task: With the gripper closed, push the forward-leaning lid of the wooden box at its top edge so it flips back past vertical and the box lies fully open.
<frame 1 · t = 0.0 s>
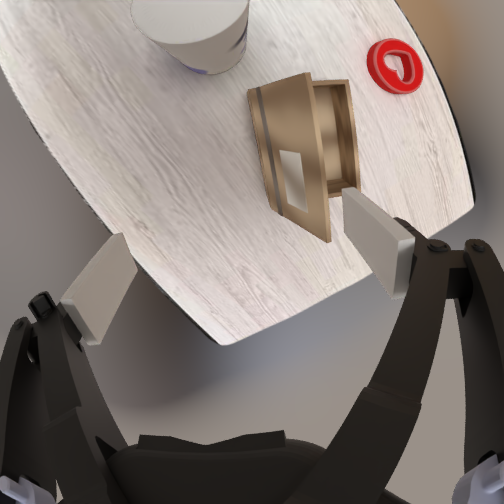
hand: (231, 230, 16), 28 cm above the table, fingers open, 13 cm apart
decorative ornament: (391, 67, 33), on the table
lid: (286, 154, 27), point 14 cm above the table, hinge at 70.0°
container: (212, 45, 32), on the table
wooden box: (299, 137, 39), on the table
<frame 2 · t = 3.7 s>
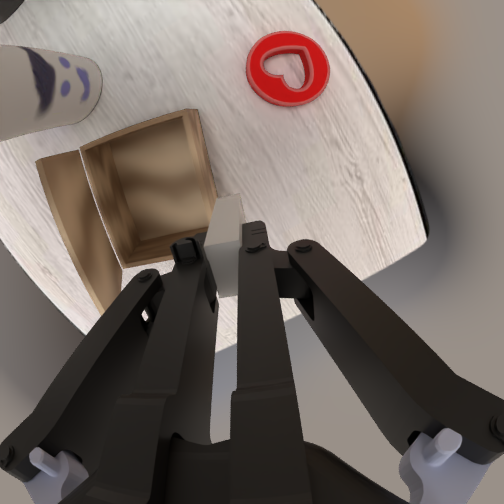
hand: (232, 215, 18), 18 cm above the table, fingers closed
decorative ornament: (285, 70, 28), on the table
lid: (87, 231, 22), point 14 cm above the table, hinge at 70.0°
container: (74, 90, 27), on the table
wooden box: (163, 181, 34), on the table
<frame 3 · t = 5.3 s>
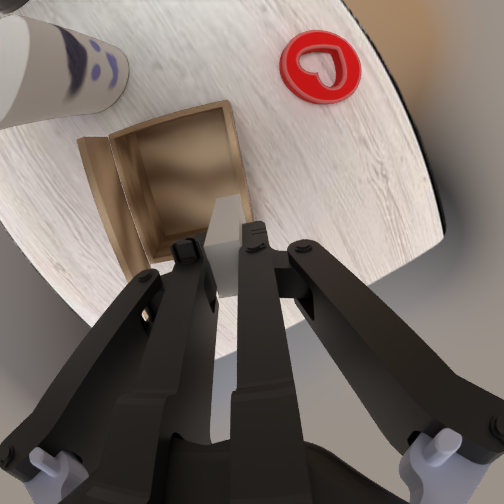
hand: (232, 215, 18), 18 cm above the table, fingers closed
decorative ornament: (317, 68, 28), on the table
lid: (121, 222, 22), point 14 cm above the table, hinge at 70.0°
container: (97, 78, 27), on the table
wooden box: (192, 174, 34), on the table
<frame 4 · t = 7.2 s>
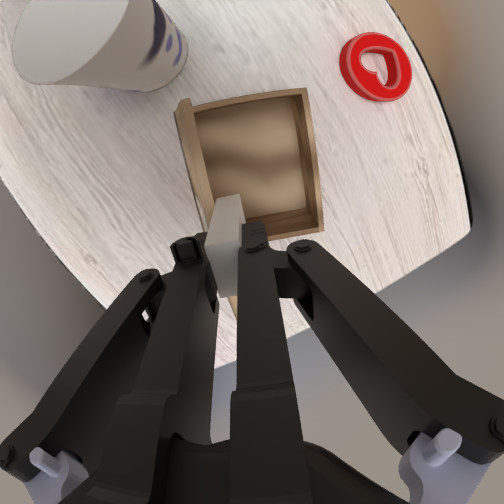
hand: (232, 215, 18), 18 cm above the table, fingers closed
decorative ornament: (371, 68, 28), on the table
lid: (201, 202, 22), point 14 cm above the table, hinge at 74.8°, touching gripper
container: (149, 56, 26), on the table
wooden box: (252, 160, 34), on the table
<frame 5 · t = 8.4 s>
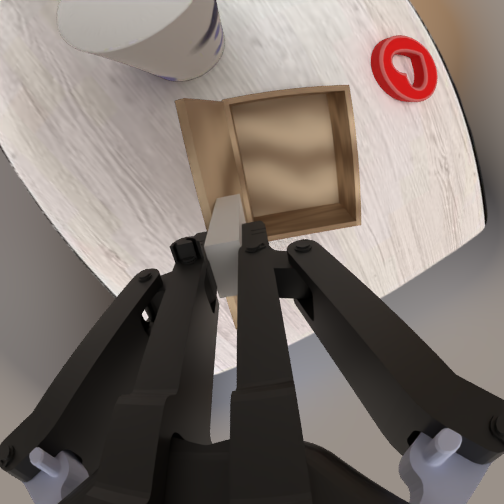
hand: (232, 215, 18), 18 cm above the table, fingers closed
decorative ornament: (399, 69, 28), on the table
lid: (226, 198, 21), point 14 cm above the table, hinge at 96.0°, touching gripper
container: (184, 45, 26), on the table
wooden box: (288, 154, 33), on the table
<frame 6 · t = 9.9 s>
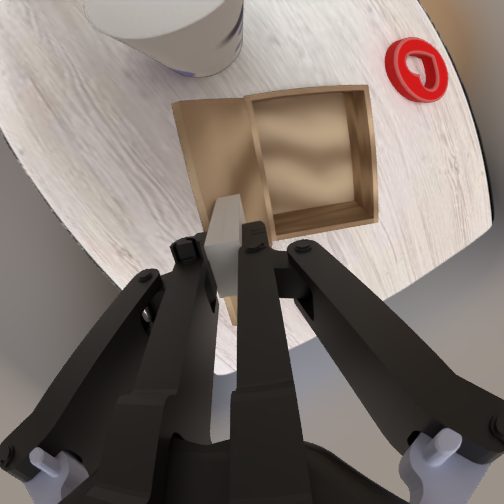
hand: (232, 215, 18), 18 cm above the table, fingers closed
decorative ornament: (411, 70, 27), on the table
lid: (237, 196, 21), point 14 cm above the table, hinge at 107.4°, touching gripper
container: (201, 42, 26), on the table
wooden box: (306, 152, 33), on the table
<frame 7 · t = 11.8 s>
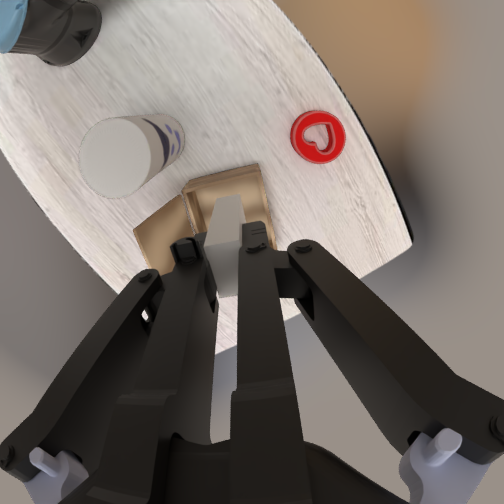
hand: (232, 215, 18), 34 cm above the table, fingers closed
decorative ornament: (315, 135, 47), on the table
lid: (176, 256, 41), point 14 cm above the table, hinge at 107.6°
container: (158, 140, 46), on the table
wooden box: (233, 211, 53), on the table
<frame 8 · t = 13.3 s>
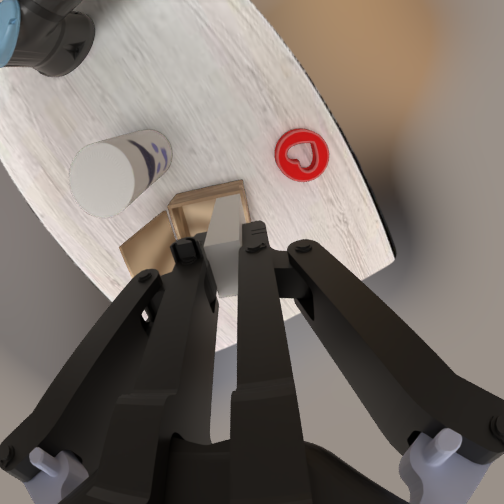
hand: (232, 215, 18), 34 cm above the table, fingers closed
decorative ornament: (300, 153, 49), on the table
lid: (160, 270, 43), point 14 cm above the table, hinge at 107.6°
container: (147, 154, 48), on the table
wooden box: (218, 224, 55), on the table
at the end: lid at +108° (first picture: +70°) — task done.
